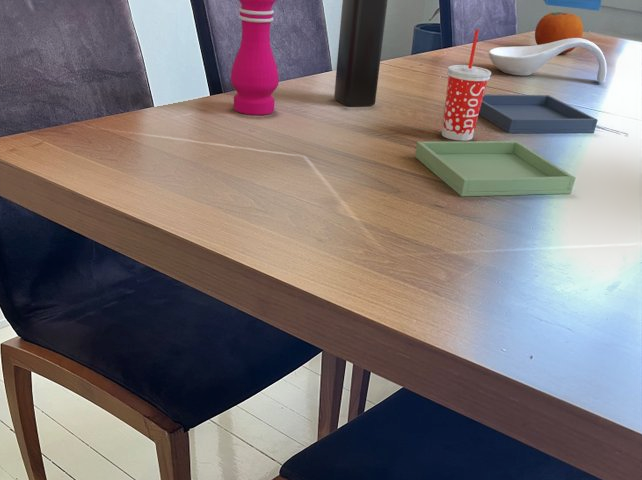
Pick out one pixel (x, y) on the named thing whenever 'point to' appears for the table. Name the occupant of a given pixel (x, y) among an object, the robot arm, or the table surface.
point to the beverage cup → (464, 98)
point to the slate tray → (535, 114)
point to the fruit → (558, 28)
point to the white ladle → (541, 56)
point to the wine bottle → (359, 51)
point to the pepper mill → (255, 60)
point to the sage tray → (493, 168)
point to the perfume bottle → (576, 3)
